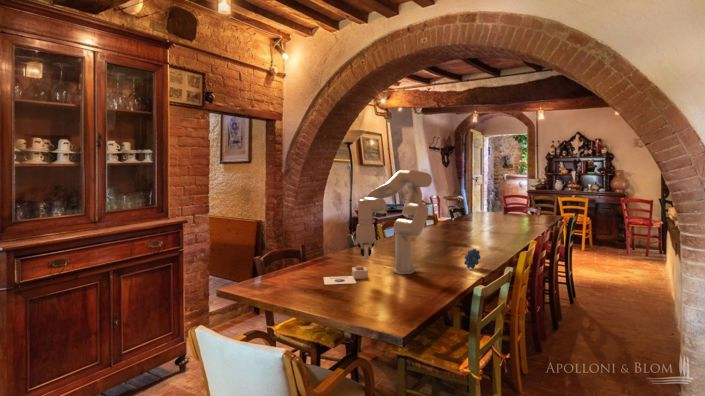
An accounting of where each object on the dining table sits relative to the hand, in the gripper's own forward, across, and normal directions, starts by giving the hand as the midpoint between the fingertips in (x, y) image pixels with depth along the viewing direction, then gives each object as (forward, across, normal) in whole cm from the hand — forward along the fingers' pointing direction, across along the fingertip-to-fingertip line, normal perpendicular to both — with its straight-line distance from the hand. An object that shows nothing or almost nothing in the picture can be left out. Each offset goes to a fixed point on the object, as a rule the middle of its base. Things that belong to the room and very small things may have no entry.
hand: (366, 255), depth 223 cm
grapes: (+16, -68, -20) cm, 72 cm away
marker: (+2, 0, 0) cm, 2 cm away
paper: (+14, +14, -4) cm, 21 cm away
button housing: (+14, +2, -10) cm, 18 cm away
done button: (+12, +2, -10) cm, 15 cm away
